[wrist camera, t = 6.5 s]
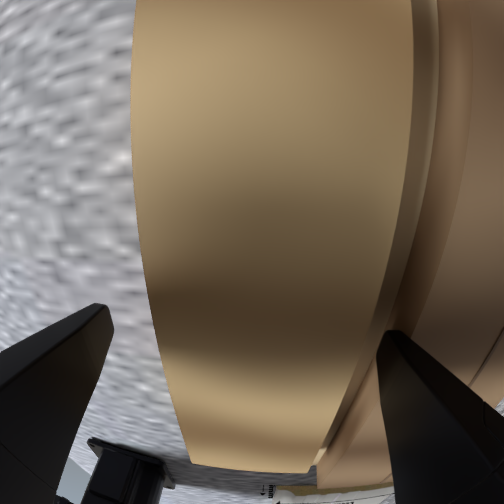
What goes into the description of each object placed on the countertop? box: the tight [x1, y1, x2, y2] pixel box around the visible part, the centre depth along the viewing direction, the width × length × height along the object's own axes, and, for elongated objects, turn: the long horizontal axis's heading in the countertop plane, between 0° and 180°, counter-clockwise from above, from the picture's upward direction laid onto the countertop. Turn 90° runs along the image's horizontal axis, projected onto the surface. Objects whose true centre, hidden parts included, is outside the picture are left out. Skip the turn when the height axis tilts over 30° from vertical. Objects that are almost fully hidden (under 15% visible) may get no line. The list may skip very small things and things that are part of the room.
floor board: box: [312, 0, 504, 489], centre depth 8 cm, size 22×8×3 cm, turn 177°
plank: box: [131, 0, 413, 473], centre depth 9 cm, size 18×6×3 cm, turn 178°
